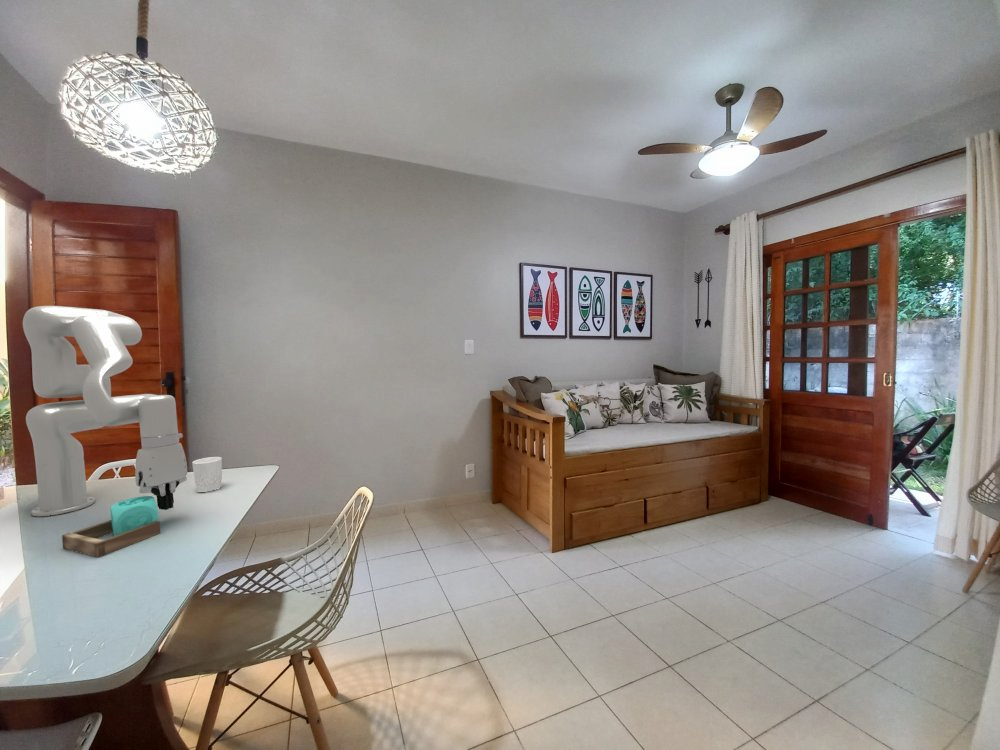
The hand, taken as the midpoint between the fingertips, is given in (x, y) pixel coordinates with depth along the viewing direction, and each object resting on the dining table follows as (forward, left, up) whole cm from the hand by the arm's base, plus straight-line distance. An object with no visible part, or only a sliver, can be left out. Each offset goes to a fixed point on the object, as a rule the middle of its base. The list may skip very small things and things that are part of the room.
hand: (166, 508), depth 106 cm
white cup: (-15, +21, -4) cm, 26 cm away
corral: (-1, -11, -4) cm, 11 cm away
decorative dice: (0, -7, -4) cm, 8 cm away
